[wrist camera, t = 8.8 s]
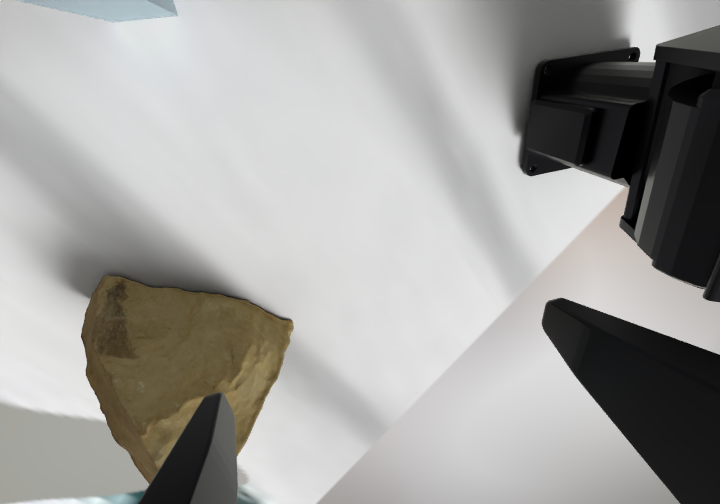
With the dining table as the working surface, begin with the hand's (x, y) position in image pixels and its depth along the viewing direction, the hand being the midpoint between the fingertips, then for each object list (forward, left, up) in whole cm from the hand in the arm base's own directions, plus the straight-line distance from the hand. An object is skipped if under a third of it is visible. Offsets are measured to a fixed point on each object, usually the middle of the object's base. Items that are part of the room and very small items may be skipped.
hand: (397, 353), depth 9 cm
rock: (+9, +6, -13) cm, 17 cm away
